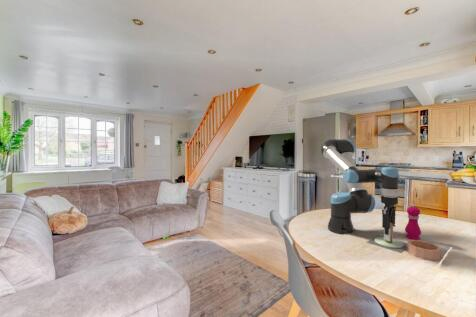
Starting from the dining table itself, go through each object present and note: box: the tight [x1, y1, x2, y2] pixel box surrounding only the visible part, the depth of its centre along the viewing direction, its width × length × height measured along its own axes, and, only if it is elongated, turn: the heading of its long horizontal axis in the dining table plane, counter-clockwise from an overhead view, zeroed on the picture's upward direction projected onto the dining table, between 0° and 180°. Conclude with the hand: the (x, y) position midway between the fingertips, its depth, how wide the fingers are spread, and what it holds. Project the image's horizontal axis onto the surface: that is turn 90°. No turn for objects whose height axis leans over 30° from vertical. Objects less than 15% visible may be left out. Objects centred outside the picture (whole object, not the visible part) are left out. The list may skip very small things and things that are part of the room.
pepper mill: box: [404, 203, 422, 240], centre depth 126 cm, size 7×7×20 cm
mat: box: [366, 234, 407, 254], centre depth 120 cm, size 16×16×1 cm
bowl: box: [406, 239, 442, 261], centre depth 107 cm, size 12×12×5 cm
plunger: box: [374, 223, 404, 249], centre depth 120 cm, size 13×13×11 cm
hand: (388, 239), depth 120 cm, fingers open, 4 cm apart
